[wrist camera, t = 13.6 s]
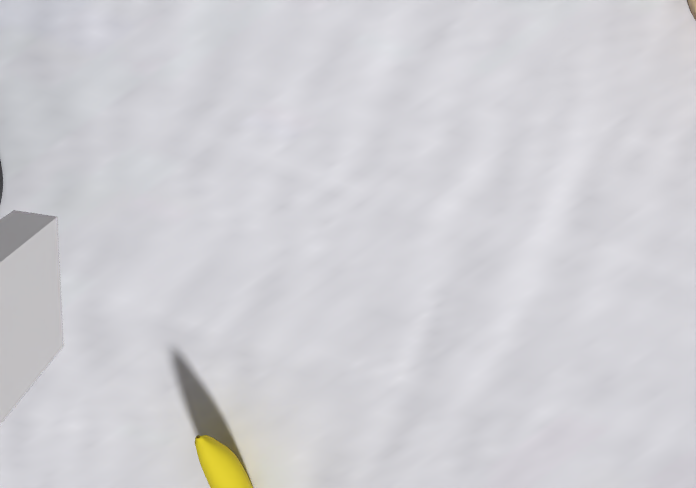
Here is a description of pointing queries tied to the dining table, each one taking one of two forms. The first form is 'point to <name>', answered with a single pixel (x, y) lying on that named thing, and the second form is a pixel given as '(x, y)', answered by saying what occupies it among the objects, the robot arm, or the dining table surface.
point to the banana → (220, 464)
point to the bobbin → (692, 7)
